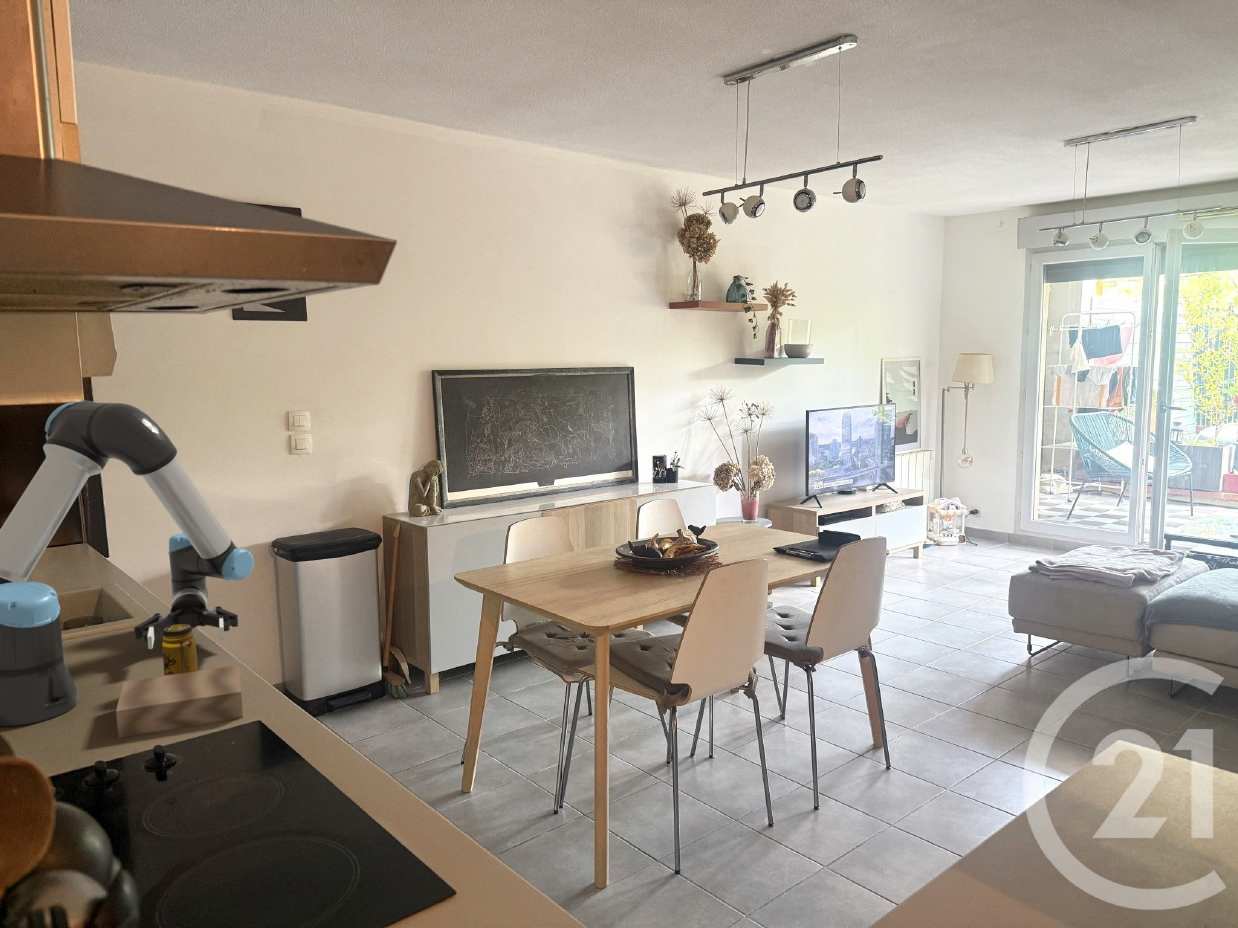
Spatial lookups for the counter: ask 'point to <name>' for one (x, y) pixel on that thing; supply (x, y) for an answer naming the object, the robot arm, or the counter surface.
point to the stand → (179, 701)
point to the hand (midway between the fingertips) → (186, 637)
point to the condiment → (179, 650)
